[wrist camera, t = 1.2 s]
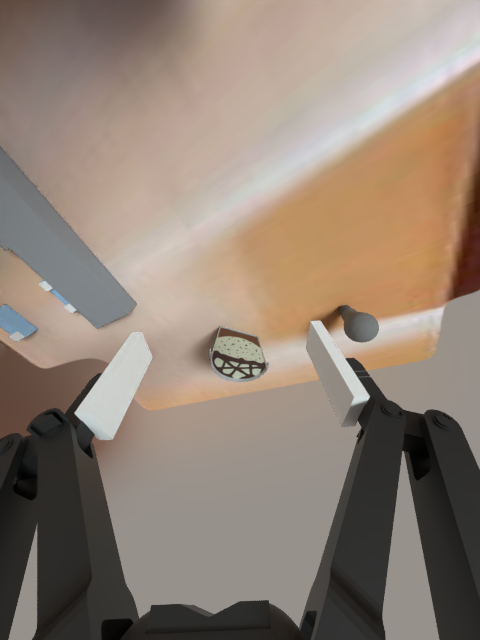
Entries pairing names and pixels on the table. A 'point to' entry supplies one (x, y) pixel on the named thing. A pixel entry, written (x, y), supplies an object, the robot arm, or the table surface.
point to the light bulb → (358, 324)
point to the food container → (237, 356)
